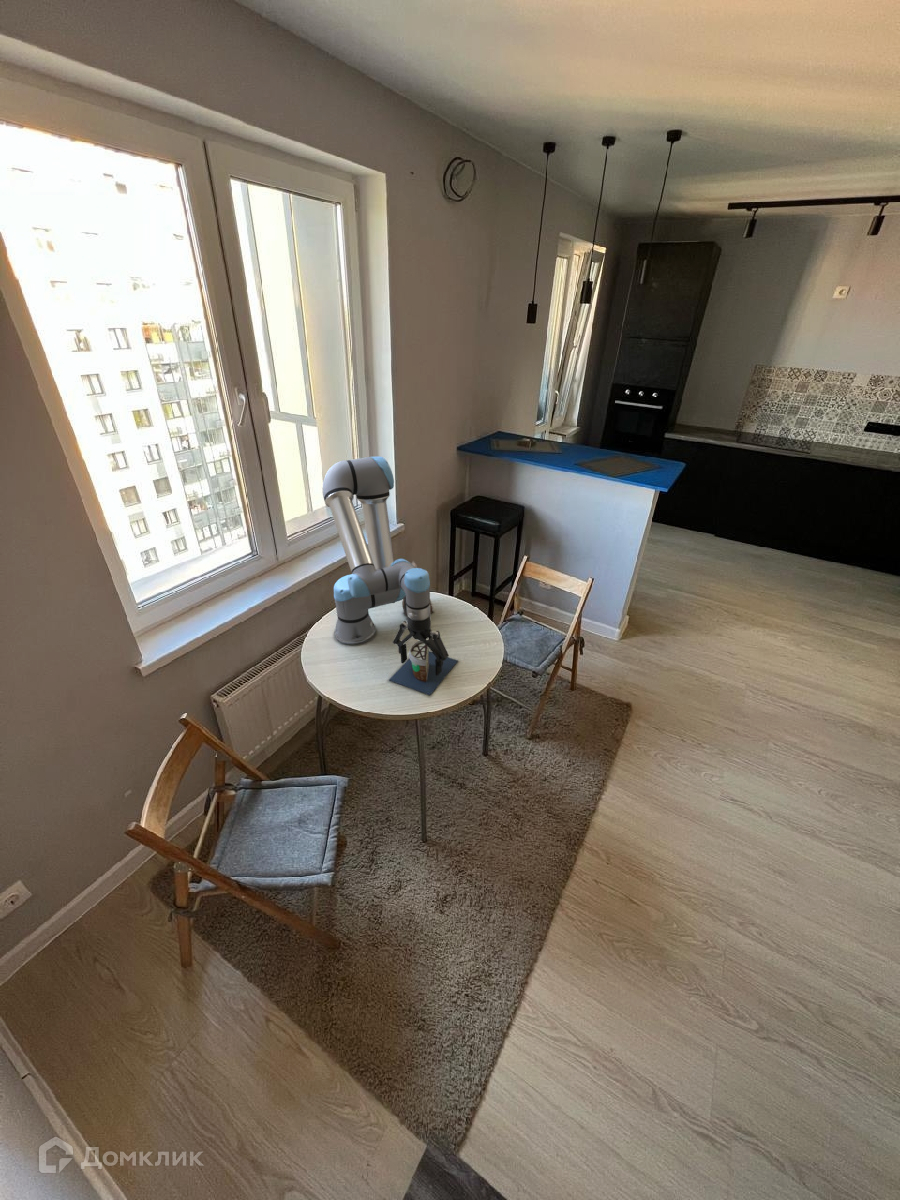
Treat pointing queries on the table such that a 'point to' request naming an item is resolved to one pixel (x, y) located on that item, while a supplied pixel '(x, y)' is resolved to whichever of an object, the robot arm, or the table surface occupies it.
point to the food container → (420, 660)
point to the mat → (408, 680)
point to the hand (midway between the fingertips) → (421, 667)
